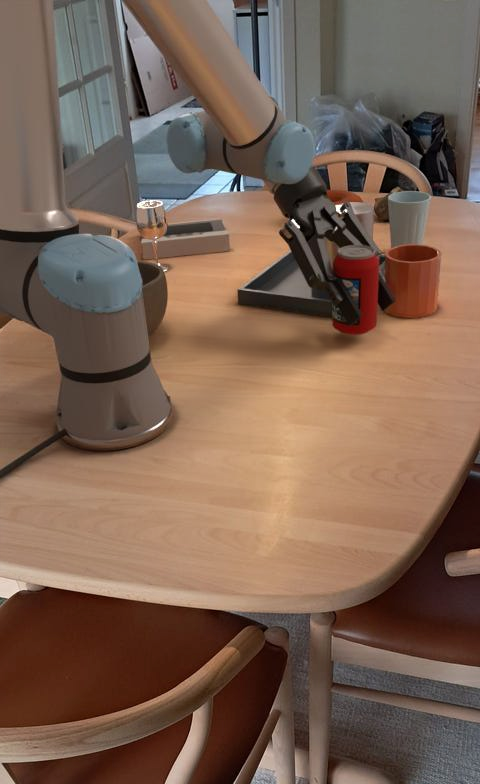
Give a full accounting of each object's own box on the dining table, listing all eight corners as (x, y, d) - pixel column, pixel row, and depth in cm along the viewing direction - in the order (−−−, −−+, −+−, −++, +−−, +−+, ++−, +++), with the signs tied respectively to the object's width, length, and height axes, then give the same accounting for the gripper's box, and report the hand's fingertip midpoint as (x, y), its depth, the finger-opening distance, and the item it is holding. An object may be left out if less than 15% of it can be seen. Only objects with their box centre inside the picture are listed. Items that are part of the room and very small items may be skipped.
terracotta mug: (427, 321, 131) (431, 265, 126) (375, 314, 135) (377, 259, 129) (448, 295, 139) (453, 241, 134) (399, 289, 143) (401, 236, 137)
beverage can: (323, 326, 128) (324, 248, 121) (361, 317, 130) (364, 240, 123) (346, 341, 123) (348, 261, 116) (385, 331, 125) (389, 252, 118)
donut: (378, 216, 177) (379, 192, 174) (336, 235, 168) (336, 210, 165) (323, 206, 185) (322, 183, 182) (280, 224, 176) (279, 200, 174)
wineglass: (136, 272, 158) (127, 207, 151) (153, 262, 162) (145, 198, 155) (162, 275, 156) (154, 209, 149) (178, 265, 160) (171, 201, 153)
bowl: (119, 306, 144) (110, 249, 138) (195, 328, 135) (189, 267, 129) (42, 342, 134) (29, 282, 128) (118, 368, 124) (108, 304, 118)
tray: (344, 319, 134) (345, 303, 132) (238, 304, 142) (237, 289, 140) (393, 270, 150) (394, 255, 149) (295, 259, 158) (295, 245, 157)
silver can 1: (343, 305, 137) (344, 232, 130) (304, 300, 140) (303, 228, 133) (359, 290, 142) (360, 219, 135) (321, 285, 145) (320, 215, 138)
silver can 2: (363, 286, 143) (365, 215, 136) (325, 282, 146) (325, 212, 139) (377, 272, 148) (379, 203, 141) (340, 268, 151) (341, 200, 144)
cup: (435, 255, 155) (439, 197, 149) (400, 263, 153) (403, 205, 147) (412, 244, 161) (415, 188, 155) (378, 252, 159) (380, 195, 153)
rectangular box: (141, 242, 161) (138, 212, 174) (144, 265, 164) (141, 234, 177) (228, 234, 162) (220, 204, 175) (230, 256, 165) (221, 226, 178)
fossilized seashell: (422, 198, 177) (375, 207, 179) (420, 175, 171) (371, 184, 174) (425, 226, 174) (377, 234, 177) (422, 203, 168) (372, 212, 171)
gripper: (325, 183, 132) (400, 306, 131) (233, 212, 121) (313, 346, 121) (351, 152, 125) (430, 281, 125) (256, 179, 115) (341, 320, 114)
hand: (372, 313), depth 123 cm, fingers closed on beverage can, 7 cm apart
